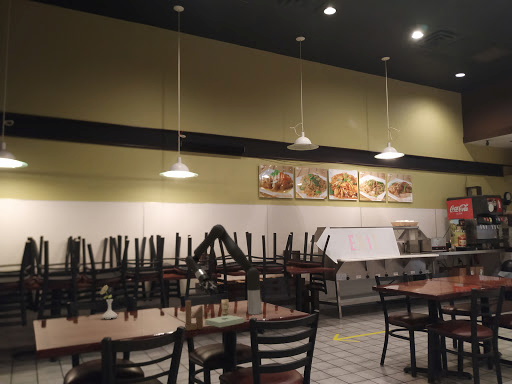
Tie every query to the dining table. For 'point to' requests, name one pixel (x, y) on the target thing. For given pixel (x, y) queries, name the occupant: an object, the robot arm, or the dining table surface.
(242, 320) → the sage board
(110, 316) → the flower in vase
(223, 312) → the beech peg
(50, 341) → the dining table surface
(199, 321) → the brown wooden bracket
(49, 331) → the dining table surface
